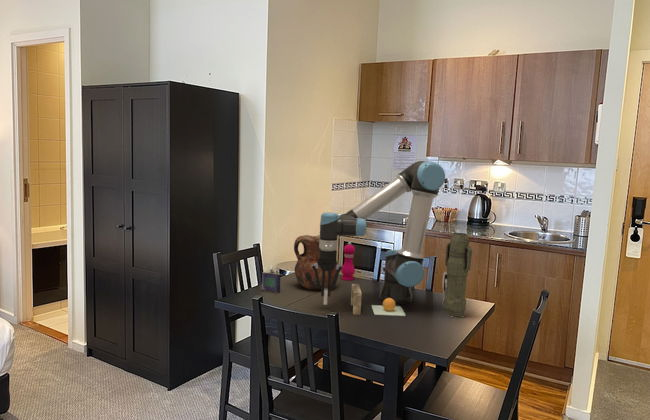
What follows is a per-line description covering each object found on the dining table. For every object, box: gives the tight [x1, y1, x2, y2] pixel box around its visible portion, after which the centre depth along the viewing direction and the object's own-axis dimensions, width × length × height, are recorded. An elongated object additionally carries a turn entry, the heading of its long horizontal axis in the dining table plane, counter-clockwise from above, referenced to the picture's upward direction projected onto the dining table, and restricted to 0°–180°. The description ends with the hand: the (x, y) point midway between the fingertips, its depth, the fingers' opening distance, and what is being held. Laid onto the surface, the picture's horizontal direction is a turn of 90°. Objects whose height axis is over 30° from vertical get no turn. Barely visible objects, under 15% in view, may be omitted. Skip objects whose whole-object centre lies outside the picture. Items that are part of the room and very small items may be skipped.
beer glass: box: [441, 271, 447, 306], centre depth 234 cm, size 7×7×15 cm
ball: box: [382, 298, 397, 311], centre depth 223 cm, size 6×6×6 cm
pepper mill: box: [340, 241, 356, 282], centre depth 275 cm, size 7×7×20 cm
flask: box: [261, 268, 281, 294], centre depth 244 cm, size 9×3×11 cm, turn 71°
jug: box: [293, 234, 337, 291], centre depth 256 cm, size 22×21×25 cm
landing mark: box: [371, 304, 406, 317], centre depth 223 cm, size 13×13×1 cm
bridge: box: [350, 283, 363, 316], centre depth 223 cm, size 3×14×9 cm, turn 1°
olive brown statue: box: [443, 232, 473, 318], centre depth 220 cm, size 9×12×35 cm
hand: (325, 303), depth 222 cm, fingers closed
